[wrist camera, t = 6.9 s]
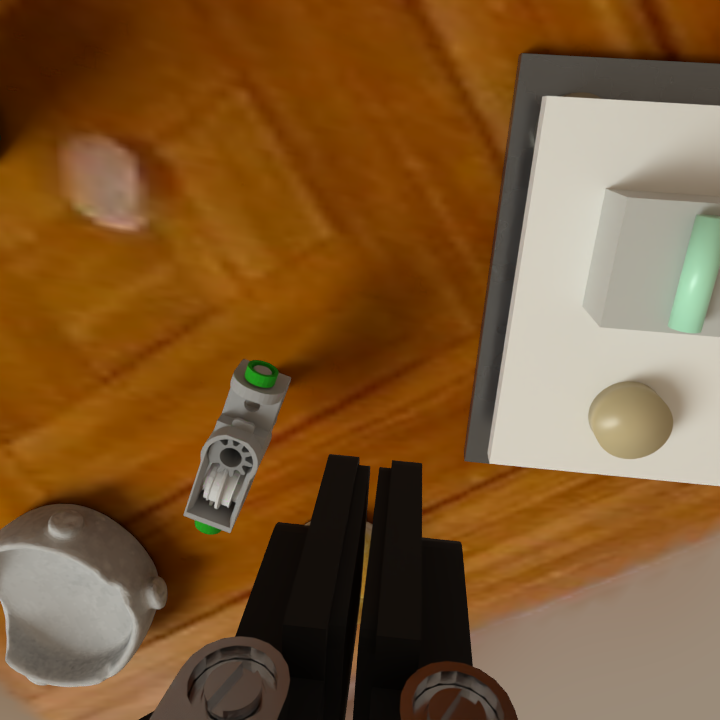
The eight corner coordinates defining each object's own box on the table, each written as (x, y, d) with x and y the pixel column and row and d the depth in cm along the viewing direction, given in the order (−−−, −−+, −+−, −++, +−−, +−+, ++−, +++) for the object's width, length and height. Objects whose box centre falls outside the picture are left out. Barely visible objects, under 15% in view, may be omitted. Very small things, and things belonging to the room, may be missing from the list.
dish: (76, 658, 52) (43, 711, 48) (-36, 539, 49) (-84, 584, 44) (209, 600, 48) (187, 651, 44) (99, 466, 45) (61, 507, 40)
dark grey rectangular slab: (518, 55, 32) (527, 50, 29) (840, 72, 31) (878, 68, 28) (463, 453, 41) (466, 476, 39) (710, 477, 40) (729, 502, 37)
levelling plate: (542, 96, 30) (570, 91, 24) (842, 113, 29) (944, 113, 23) (487, 453, 37) (498, 513, 32) (724, 476, 36) (780, 542, 31)
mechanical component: (319, 321, 39) (287, 388, 29) (270, 451, 42) (228, 545, 33) (275, 304, 38) (229, 365, 29) (230, 435, 42) (176, 526, 33)
